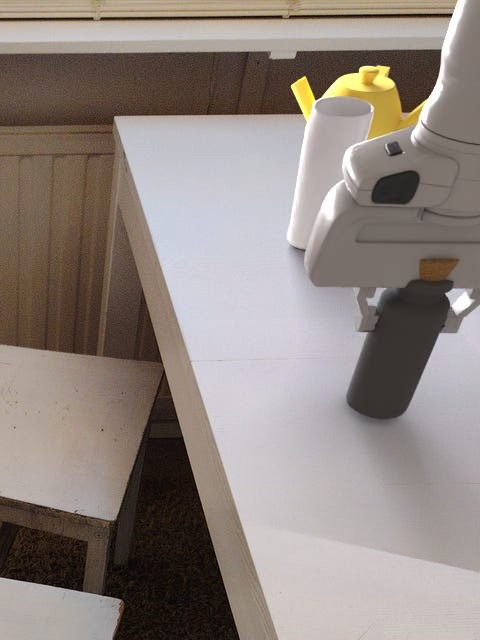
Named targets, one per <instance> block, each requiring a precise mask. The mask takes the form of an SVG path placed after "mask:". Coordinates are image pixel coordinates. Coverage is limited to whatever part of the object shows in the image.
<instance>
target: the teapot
mask: <svg viewBox="0 0 480 640" xmlns="http://www.w3.org/2000/svg"><path fill="white" fill-rule="evenodd" d="M390 69H391V66H384V65H376V66H373V65H372V66H371V65H365V66H361V67H360V68H359V71H358V72H355V73H348V74H344V75H342V76H340V77H338V78H337V79H336V80H335V82H333V84H332V85H330V87H329V88H328V89H327V90H326V92H325V93H324V94H323V95H322V97H321V98H325V97H332V96H346V97H353V98H358V99H362V100H364V101H367V102H369V103H370V104H372V105H373V107H374V114H373V118H372V122H371V126H370V130H369V134H368V137H367V141H368V140H371V139H375V138H378V137H381V136H384V135H387V134H390V133H393V132H396V131H399V130H402V129H404V128H407V127H410V126H412V125H415V124H417V123H418V121H419V118H420V115H421V112H422V109H423V107H424V105H425V103H426V102H427V100H428V99H429V98H426V99H425V100H424V101H423V102H422V103H421V104H420V105H418V106H417V107H416V108H415V109H413V110H412V111H411V112H410V113H408V114H407V115H406V116H405V117H403V110H402V104H401V99H400V95H399V92H398V88H397V86H396V83H395V82H394V80H392V79H391V78H389V73H390ZM290 87H291V89H292V91H293V94H294V96H295V98H296V101H297V102H298V105H299V107H300V110H301V112H302V113H303V116H304V119H305V120H306V126H305V129H304V133H305V132H306V128H307V124H308V120H309V117H310V113H311V110H312V106H313V104H314V102H316V101H317V100H316V99H315V96H314V94H313V92H312V89H311V87H310V84H309V82H308V79H307V76H303V77H301V78H300V79H298V80H297V81H296V82H294V83H293V84H291V86H290Z"/></svg>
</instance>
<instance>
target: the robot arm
mask: <svg viewBox="0 0 480 640" xmlns="http://www.w3.org/2000/svg"><path fill="white" fill-rule="evenodd" d="M427 99H428V100H427ZM427 99H426V100H427V102H426V103H425V105H424V107H423V109H422V112H421V115H420V118H419V121H418V123H417V124H415V125H412V126H410V127H407V128H404V129H402V130H399V131H396V132H393V133H390V134H387V135H384V136H381V137H378V138H375V139H371V140H368V141H365V142H362V143H359V144H356V145H354V146H352V147H350V148H349V149H348V150H347V151H346V153H345V156H344V159H343V164H342V171H343V177H344V180H343V181H341V182H340V183H338V184H337V185H336V186H334V187H333V188H332V190H331V191H330V192H329V193H328V195H327V196H326V198H325V200H324V202H323V204H322V206H321V209H320V211H319V213H318V216H317V218H316V221H315V224H314V226H313V229H312V232H311V235H310V238H309V241H308V245H307V248H306V250H305V252H304V258H303V264H304V269H305V272H306V273H305V274H306V275H307V277H308V279H309V281H310V282H311V284H312V285H313V286H314V287H316V288H352V289H353V293H354V296H355V300H356V303H357V306H358V309H357V311H356V314H355V318H354V321H353V322H354V324H353V326H354V329H355V332H356V333H367V332H374V331H375V329H376V326H375V325H376V324H377V323H378V320H379V317H380V315H379V313H378V312H377V305H370V304H368V303H369V302H368V301H367V299H373V298H374V297H375V294H376V291H377V289H386V288H404V287H406V285H407V284H408V282H409V281H411V280H416V279H420V276H419V261H420V259H459V260H460V261H459V263H458V264H457V265H456V267H455V268H454V269H453V270H452V272H451V273H450V274H449V276H448V277H447V278H446V279H445V280H451V281H454V284H453V287H452V290H453V289H461V290H465V291H464V293H462V294H461V296H459V298H457V300H455V301H454V302H453V304H452V305H450V308H449V311H448V314H447V317H446V319H445V321H444V324H443V326H442V329H441V331H440V333H439V334H457V333H458V331H459V329H460V327H461V325H462V323H463V321H464V318H466V317H468V316H469V314H471V313H472V312H473V311H474V310H476V309H477V308H478V307H479V306H480V0H458V1H457V3H456V6H455V8H454V12H453V14H452V17H451V19H450V22H449V26H448V29H447V33H446V36H445V38H444V42H443V44H442V47H441V56H440V68H439V73H438V78H437V79H436V84H435V86H434V88H433V90H432V92H431V94H430V95H429V97H428V98H427Z"/></svg>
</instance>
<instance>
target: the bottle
mask: <svg viewBox="0 0 480 640" xmlns="http://www.w3.org/2000/svg"><path fill="white" fill-rule="evenodd" d="M459 261H460V260H459V259H420V261H419V276H420V279H416V280H411V281H409V282H408V284H407V285H406V287H404V288H384V289H383V290H382V292H381V293H380V296H379V298H378V301H377V304H376V307H377V312H378V313H379V315H380V317H379V320H378V323H377V324H376V325H375V326H376V329H375V331H374V332H366V335H365V339H364V341H363V344H362V347H361V350H360V353H359V356H358V358H357V361H356V364H355V368H354V370H353V373H352V375H351V379H350V382H349V385H348V388H347V391H346V396H345V399H346V402H347V404H348V406H349V407H350V408H351V409H352V410H353V411H354V412H357V413H358V414H360V415H362V416H363V417H368V418H371V419H376V420H388V419H395V418H398V417H401V416H402V415H404V414H405V413H406V412H407V410H408V409H409V406H410V404H411V401H412V400H413V397H414V395H415V392H416V390H417V388H418V386H419V383H420V381H421V378H422V376H423V374H424V371H425V369H426V366H427V364H428V362H429V359H430V357H431V355H432V353H433V350H434V349H435V348H434V347H435V346H436V343H437V341H438V338H439V336H440V334H441V333H440V331H441V329H442V326H443V324H444V321H445V319H446V317H447V314H448V311H449V308H450V306H451V301H450V299H449V297H448V296H447V293H449V292H450V291H452V290H453V289H452V287H453V284H454V281H451V280H445V279H446V278H447V277H448V276H449V274H450V273H451V272H452V270H453V269H454V268H455V267H456V265H457V264H458V263H459Z"/></svg>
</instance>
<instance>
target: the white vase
mask: <svg viewBox="0 0 480 640" xmlns="http://www.w3.org/2000/svg"><path fill="white" fill-rule="evenodd" d="M315 101H316V102H314V104H313V106H312V110H311V113H310V117H309V120H308V124H307V123H306V125H307V128H306V127H305V129H306V132H305V131H304V137H303V140H302V141H303V142H302V147H301V153H300V159H299V167H298V172H297V179H296V184H295V192H294V196H293V197H294V198H293V203H292V209H291V216H290V220H289V221H290V222H289V225H288V228H287V234H286V239H287V241H288V243H289V244H290V245H291V246H292V247H294V248H297V249H300V250H305V251H306V248H307V245H308V241H309V238H310V235H311V232H312V229H313V226H314V224H315V221H316V218H317V216H318V213H319V211H320V209H321V206H322V204H323V202H324V200H325V198H326V196H327V195H328V193H329V192H330V191H331V190H332V188H333V187H334V186H336V185H337V184H338V183H340V182H341V181H343V180H344V177H343V171H342V164H343V159H344V156H345V153H346V151H347V150H348V149H349V148H350V147H352V146H354V145H356V144H359V143H362V142H365V141H367V137H368V134H369V130H370V126H371V122H372V118H373V114H374V107H373V105H372V104H370V103H369V102H367V101H364V100H362V99H358V98H353V97H346V96H332V97H325V98H322V97H321V98H319V99H317V100H315Z"/></svg>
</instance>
